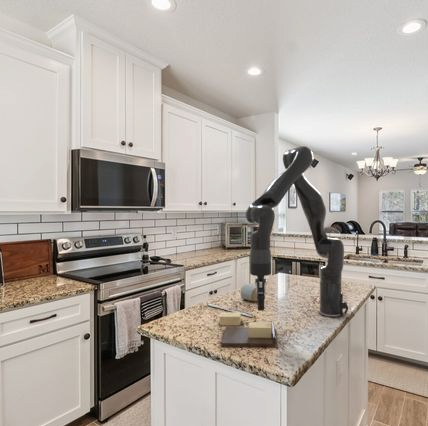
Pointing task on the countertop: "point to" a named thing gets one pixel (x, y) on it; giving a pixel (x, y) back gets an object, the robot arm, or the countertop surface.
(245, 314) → the butter knife
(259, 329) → the beige rectangular block
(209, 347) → the countertop surface
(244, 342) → the board
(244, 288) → the ceramic mug
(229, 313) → the pad
